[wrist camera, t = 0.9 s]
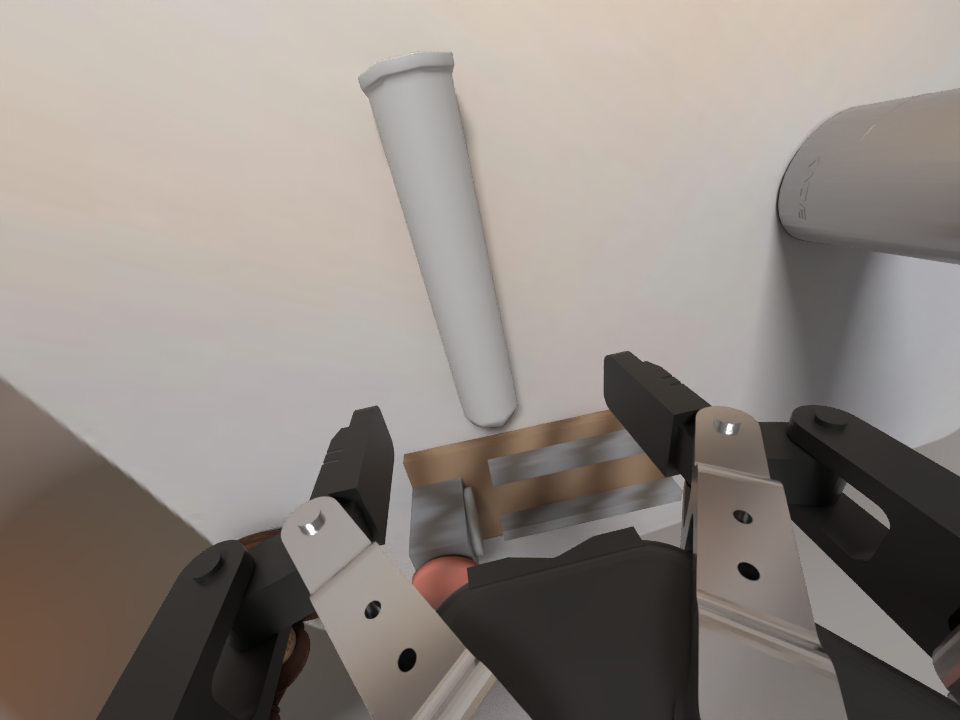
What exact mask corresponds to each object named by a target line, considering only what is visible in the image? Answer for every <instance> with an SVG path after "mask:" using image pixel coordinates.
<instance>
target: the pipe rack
mask: <svg viewBox="0 0 960 720" xmlns="http://www.w3.org/2000/svg"><path fill="white" fill-rule="evenodd" d="M403 464H404V467H405V469H406V472H407V475H408V477H409V480H410V482H411V485H412V488H413V492H412V509H411V526H410V542H409V557H410V559H411V561H412V563H413V566H414V568H415V570H416V572H415V573H414V575H413V579H412V584H413V586H414V587H415V588H416V589H417V590H418V591H419V593H420V594H421V595H422V596H423V597H424V599H425V600H426V601H427V602H428V603H429V604H430V606H431V607H432V608H433V609H434V610H436V609H437V608H438V607H439V606H440V605H441V604H442V602H443V601H444V600H445V599H447V598H448V597H449V596H450V595H451V594H452V593H453V592H455V591H456V590H457V589H459V588H460V587H461V586H463V585H465V584H467V583H468V575H467V568H468V567H472V566H476V565H479V564H478V557H479V556H484V544H483V540H484V539H488V538H492V537H497V536H501V535H504V540H505V541H506V540H511V539H515V538H519V537H524V536H528V535H533V534H537V533H541V532H546V531H550V530H554V529H559V528H563V527H567V526H572V525H576V524H580V523H585V522H589V521H594V520H598V519H602V518H607V517H611V516H615V515H620V514H624V513H628V512H633V511H637V510H642V509H646V508H650V507H655V506H659V505H663V504H668V503H672V502H676V501H681V497H682V489H681V488H680V487H679V486H678V484H677V483H676V482H675V481H674V480H673V478H672V477H671V476H670V477H666V478H665V476H664V475H663V474H662V473H661V472H660V470H659V469H658V468H657V467H656V465H655V464H654V463H653V462H652V461H651V459H650V458H649V457H648V456H647V454H646V453H645V452H644V451H643V450H642V448H641V447H640V446H639V445H638V444H637V442H636V441H635V440H634V439H633V437H632V436H631V435H630V434H629V433H628V431H627V430H626V429H625V428H624V427H623V425H622V424H621V423H620V422H619V420H618V419H617V418H616V417H615V416H614V414H613V413H612V412H611V411H610V410H606V411H602V412H597V413H593V414H588V415H583V416H579V417H574V418H570V419H565V420H560V421H556V422H551V423H547V424H542V425H538V426H533V427H528V428H524V429H519V430H515V431H510V432H506V433H501V434H496V435H492V436H487V437H483V438H478V439H474V440H469V441H464V442H460V443H455V444H451V445H446V446H441V447H437V448H432V449H428V450H423V451H419V452H414V453H409V454H405V455H404V461H403Z"/></svg>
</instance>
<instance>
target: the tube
mask: <svg viewBox="0 0 960 720" xmlns="http://www.w3.org/2000/svg"><path fill="white" fill-rule="evenodd" d="M453 68H454V60H453V54H452V52H438V51H418V52H414V53H410V54H406V55H402V56H398V57H394V58H390V59H385V60H381V61H377V62H376V63H375V64H374V65H372V66H371V67H370V68H369V69H367V70H366V71H365V72H364V73H362V74H361V75H360V76H359V77H358V80H359V83H360V86H361V89H362V91H363V92H364V93H365V95H366V96H367V97H368V98H369V101H370V105H371V108H372V111H373V114H374V118H375V121H376V124H377V128H378V131H379V134H380V138H381V141H382V144H383V147H384V151H385V154H386V157H387V161H388V164H389V167H390V171H391V174H392V177H393V181H394V184H395V187H396V190H397V194H398V197H399V200H400V204H401V207H402V210H403V214H404V217H405V220H406V224H407V227H408V230H409V233H410V237H411V240H412V243H413V247H414V250H415V253H416V257H417V260H418V263H419V267H420V270H421V273H422V276H423V280H424V283H425V286H426V290H427V293H428V296H429V300H430V303H431V306H432V310H433V313H434V316H435V319H436V323H437V326H438V329H439V333H440V336H441V339H442V343H443V346H444V349H445V353H446V356H447V359H448V362H449V366H450V369H451V372H452V376H453V379H454V382H455V386H456V389H457V392H458V395H459V399H460V402H461V405H462V409H463V412H464V415H465V417H466V418H467V419H468V420H470V421H471V422H472V423H473V424H474V425H477V426H481V427H485V428H486V427H502V426H503V425H504V424H505V422H506V421H507V420H508V418H509V417H510V416H511V415H512V413H513V412H514V410H515V409H516V407H517V406H518V404H517V399H516V394H515V389H514V384H513V379H512V374H511V369H510V364H509V359H508V354H507V349H506V344H505V339H504V334H503V329H502V324H501V319H500V314H499V309H498V304H497V299H496V294H495V289H494V284H493V279H492V274H491V269H490V264H489V259H488V254H487V249H486V244H485V239H484V234H483V229H482V224H481V219H480V214H479V209H478V204H477V199H476V194H475V189H474V184H473V179H472V174H471V168H470V163H469V158H468V153H467V148H466V143H465V138H464V133H463V128H462V123H461V118H460V113H459V108H458V103H457V98H456V93H455V88H454V83H453V78H452V72H453Z"/></svg>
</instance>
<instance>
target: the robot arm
mask: <svg viewBox="0 0 960 720" xmlns="http://www.w3.org/2000/svg"><path fill="white" fill-rule="evenodd" d="M778 206H779V216H780V219H781V223H782V225H783V227H784V228H785V229H786V231H787V232H788V233H789V234H791V235H792V236H793V237H795V238H798V239H801V240H805V241H812V242H818V243H825V244H831V245H837V246H844V247H850V248H855V249H862V250H868V251H874V252H881V253H887V254H894V255H900V256H907V257H913V258H920V259H926V260H933V261H939V262H946V263H952V264H959V265H960V88H958V89H953V90H947V91H941V92H936V93H929V94H923V95H918V96H912V97H907V98H901V99H896V100H890V101H885V102H879V103H874V104H869V105H863V106H858V107H852V108H850V109H847V110H845V111H843V112H840V113H838V114H837V115H835V116H834V117H832V118H831V119H829V120H827V121H826V122H825V123H823V124H822V125H821V126H820V127H819V128H818V129H817V130H816V131H814V132H813V133H812V134H811V136H810V137H809V138H808V139H807V140H806V141H805V143H804V144H803V145H802V146H801V147H800V149H799V150H798V152H797V154H796V155H795V157H794V158H793V160H792V161H791V163H790V165H789V168H788V170H787V172H786V174H785V176H784V179H783V182H782V186H781V189H780V195H779V202H778ZM604 398H605V401H606V404H607V406H608V408H609V409H610V411H611V412H612V413H613V414H614V416H615V417H616V418H617V419H618V420H619V422H620V423H621V424H622V425H623V427H624V428H625V429H626V430H627V431H628V433H629V434H630V435H631V436H632V437H633V439H634V440H635V441H636V442H637V444H638V445H639V446H640V447H641V448H642V450H643V451H644V452H645V453H646V454H647V456H648V457H649V458H650V459H651V461H652V462H653V463H654V464H655V465H656V467H657V468H658V469H659V470H660V472H661V473H662V474H663V475H664V476H665V478H666V477H670V476H674V475H679V474H681V475H682V476H683V477H684V479H685V482H684V489H683V509H682V528H681V544H680V548H678V547H675V546H673V545H670V544H665V543H661V542H657V541H649V540H641V538H640V537H639V535H638V533H637V532H636V530H635V528H634V527H629V528H625V529H621V530H617V531H613V532H609V533H605V534H601V535H597V536H593V537H591V538H590V539H588V540H586V541H584V542H583V543H581V544H579V545H577V546H576V547H574V548H572V549H570V550H569V551H567V552H565V553H563V554H562V555H560V556H558V557H555V558H511V557H508V558H504V559H500V560H496V561H492V562H488V563H484V564H480V565H476V566H472V567H468V568H467V575H468V583H467V584H465V585H463V586H461V587H460V588H459V589H457V590H456V591H455V592H453V593H452V594H451V595H450V596H449V597H448V598H447V599H445V600H444V601H443V602H442V604H441V605H440V606H439V607H438V608H437V609H436V611H435V610H434V609H433V608H432V607H431V606H430V604H429V603H428V602H427V601H426V600H425V599H424V597H423V596H422V595H421V594H420V593H419V591H418V590H417V589H416V588H415V587H414V586H413V584H412V583H411V582H410V581H409V580H408V579H407V577H406V576H405V575H404V574H403V573H402V571H401V570H400V569H399V568H398V567H397V566H396V564H395V563H394V562H393V561H392V560H391V558H390V557H389V556H388V555H387V554H386V553H385V551H384V550H383V549H382V548H381V547H380V545H384V544H385V537H386V528H387V519H388V510H389V501H390V492H391V483H392V473H393V464H394V447H393V443H392V439H391V437H390V434H389V431H388V429H387V426H386V424H385V421H384V418H383V416H382V413H381V411H380V408H379V407H378V406H373V407H368V408H364V409H359V410H355V411H354V413H353V416H352V419H351V422H350V425H349V427H346V428H341V429H340V431H339V432H338V433H337V434H336V435H335V436H334V438H333V439H332V440H331V443H330V445H329V448H328V451H327V455H326V456H325V459H324V462H323V463H324V465H322V467H321V470H320V473H319V475H318V478H317V481H316V484H315V486H314V489H313V492H312V495H311V497H310V500H309V501H308V502H306V503H304V504H302V505H301V506H300V507H298V508H297V509H296V510H295V511H294V512H293V513H292V514H291V515H290V516H289V517H288V518H287V520H286V521H285V523H284V525H283V527H282V530H281V532H280V533H279V534H277V535H275V536H273V537H271V538H269V539H267V540H265V541H263V542H261V543H259V544H257V545H255V546H253V547H251V548H249V549H246V548H245V547H244V546H243V545H242V543H241V542H239V541H237V540H227V541H223V542H220V543H217V544H215V545H213V546H211V547H209V548H208V549H206V550H205V551H203V552H202V553H200V554H199V555H198V556H197V557H195V558H194V559H193V560H192V561H191V562H190V563H189V564H188V565H187V566H186V567H185V568H184V569H183V571H182V572H181V573H180V575H179V576H178V578H177V580H176V581H175V583H174V585H173V587H172V588H171V590H170V592H169V594H168V596H167V597H166V599H165V601H164V602H163V604H162V606H161V607H160V609H159V611H158V613H157V614H156V616H155V618H154V620H153V622H152V623H151V625H150V627H149V628H148V630H147V632H146V634H145V635H144V637H143V639H142V641H141V642H140V644H139V646H138V648H137V649H136V651H135V653H134V654H133V656H132V658H131V660H130V662H129V663H128V665H127V667H126V668H125V670H124V672H123V674H122V675H121V677H120V679H119V681H118V682H117V684H116V686H115V687H114V689H113V691H112V693H111V695H110V696H109V698H108V700H107V701H106V703H105V705H104V707H103V709H102V710H101V712H100V714H99V716H98V717H97V719H96V720H269V716H270V712H271V708H272V704H273V700H274V696H275V692H276V688H277V684H278V680H279V676H280V672H281V668H282V664H283V660H284V656H285V652H286V648H287V644H288V640H289V636H290V632H291V628H292V624H294V623H296V622H298V621H299V620H301V619H303V618H304V617H306V616H308V615H309V614H311V613H313V612H315V611H316V612H317V614H318V616H319V618H320V620H321V622H322V623H323V625H324V627H325V629H326V631H327V633H328V635H329V637H330V639H331V641H332V642H333V644H334V646H335V648H336V650H337V652H338V654H339V656H340V658H341V660H342V662H343V663H344V665H345V667H346V669H347V671H348V673H349V675H350V677H351V679H352V681H353V682H354V684H355V686H356V688H357V690H358V692H359V694H360V696H361V698H362V700H363V701H364V703H365V705H366V707H367V709H368V711H369V713H370V715H371V717H372V719H373V720H960V476H958V475H956V474H954V473H953V472H951V471H949V470H947V469H946V468H944V467H942V466H940V465H939V464H937V463H935V462H934V461H932V460H930V459H928V458H927V457H925V456H923V455H922V454H920V453H918V452H916V451H915V450H913V449H911V448H909V447H908V446H906V445H904V444H903V443H901V442H899V441H897V440H896V439H894V438H892V437H890V436H889V435H887V434H885V433H884V432H882V431H880V430H878V429H877V428H875V427H873V426H871V425H870V424H868V423H866V422H865V421H863V420H861V419H859V418H858V417H856V416H854V415H852V414H850V413H847V412H845V411H842V410H839V409H835V408H831V407H826V406H818V405H807V406H801V407H798V408H796V409H795V410H794V411H793V413H792V415H791V418H790V421H789V422H757V421H756V420H755V419H754V418H753V417H752V416H750V415H748V414H747V413H745V412H743V411H740V410H737V409H734V408H730V407H724V406H711V405H710V404H709V403H707V402H706V401H705V400H703V399H702V398H701V397H699V396H698V395H697V394H696V393H694V392H693V391H692V390H690V389H689V388H688V387H687V386H685V385H684V384H681V382H680V381H679V380H677V379H676V378H675V377H672V375H671V374H670V373H668V372H667V371H666V370H664V369H663V368H662V367H660V366H657V365H655V364H652V363H650V362H647V361H645V362H642V361H641V360H640V359H638V358H637V357H636V356H635V355H633V354H632V353H631V352H629V351H625V352H620V353H616V354H611V355H607V356H606V357H605V359H604ZM847 482H848V483H849V484H850V485H852V486H853V487H854V488H856V489H857V490H858V491H860V492H861V493H862V494H864V495H865V496H866V497H868V498H869V499H870V500H872V501H873V502H874V503H875V504H877V505H878V506H879V507H880V508H881V509H882V510H883V511H884V512H885V514H886V515H887V517H888V519H889V522H890V530H889V529H888V528H887V527H885V526H884V525H883V524H881V523H880V522H879V521H878V520H877V519H875V518H874V517H873V516H872V515H870V514H869V513H868V512H867V511H865V510H864V509H863V508H861V507H860V506H859V505H858V504H856V503H855V502H854V501H853V500H851V499H850V498H849V497H848V496H846V495H845V494H844V493H842V491H843V489H844V487H845V485H846V483H847ZM791 520H792V521H793V522H794V523H795V524H796V525H797V526H798V527H799V528H800V529H801V530H802V531H803V532H804V533H805V534H806V535H807V536H808V537H809V538H811V539H812V540H813V541H814V542H815V543H816V544H817V545H818V546H819V547H820V548H821V549H822V550H823V551H824V552H825V553H826V554H827V555H828V556H829V557H830V558H831V559H832V560H833V561H834V562H835V563H836V564H837V565H838V566H839V567H840V568H841V569H842V570H843V571H844V572H845V573H846V574H847V575H848V576H849V577H850V578H851V579H852V580H853V581H854V582H855V583H856V584H858V586H859V587H860V588H861V589H862V590H863V591H864V592H865V593H866V594H867V595H868V596H869V597H870V598H871V599H872V600H873V601H874V602H875V603H876V604H877V605H878V606H879V607H880V608H881V609H882V610H883V611H884V612H885V613H886V614H887V615H889V617H890V618H892V619H893V620H894V621H895V622H896V623H897V624H898V625H899V626H900V627H901V628H902V629H903V630H904V631H905V632H906V633H907V634H908V635H909V636H910V637H911V638H912V639H913V640H914V641H915V642H916V643H917V644H918V645H919V646H920V647H921V648H922V649H923V650H924V651H925V652H926V653H927V654H928V655H929V656H930V657H931V658H932V659H933V665H934V668H935V671H936V672H937V675H938V676H939V678H940V680H941V681H942V683H943V684H944V686H945V687H946V688H947V690H948V691H949V693H948V695H947V697H945V696H944V695H942V694H940V693H938V692H937V691H935V690H933V689H931V688H930V687H928V686H926V685H924V684H922V683H921V682H919V681H917V680H915V679H914V678H912V677H910V676H908V675H907V674H905V673H903V672H901V671H900V670H898V669H896V668H894V667H893V666H891V665H889V664H887V663H885V662H884V661H882V660H880V659H878V658H877V657H874V656H873V655H871V654H870V653H868V652H866V651H864V650H862V649H861V648H859V647H857V646H855V645H854V644H852V643H850V642H848V641H846V640H845V639H843V638H841V637H840V636H838V635H836V634H834V633H832V632H831V631H829V630H827V629H825V628H824V627H822V626H820V625H818V624H816V623H815V622H814V618H813V614H812V610H811V605H810V601H809V597H808V592H807V588H806V583H805V579H804V575H803V570H802V566H801V561H800V557H799V553H798V548H797V544H796V540H795V535H794V532H793V527H792V522H791Z"/></svg>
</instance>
